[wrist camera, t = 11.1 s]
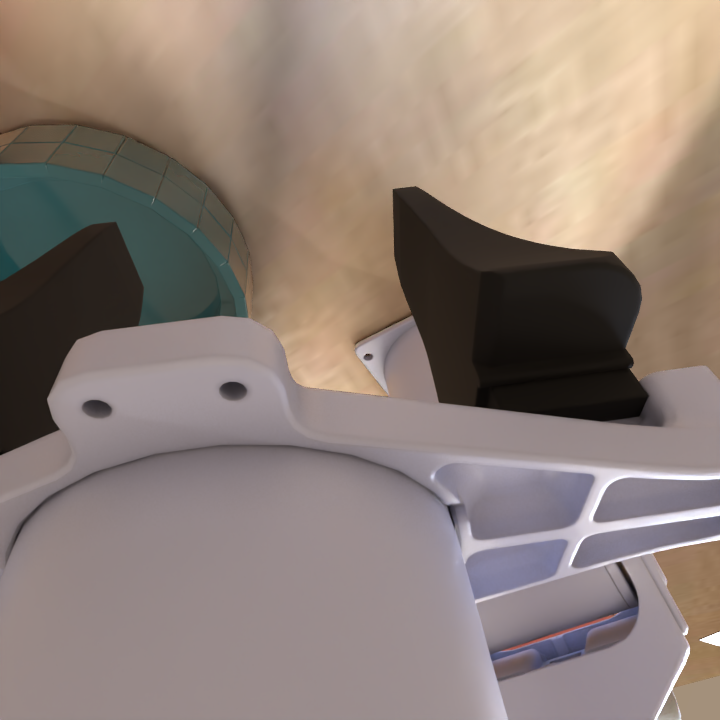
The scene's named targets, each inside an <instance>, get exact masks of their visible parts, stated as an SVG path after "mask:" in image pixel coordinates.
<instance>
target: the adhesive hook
mask: <svg viewBox="0 0 720 720" xmlns="http://www.w3.org/2000/svg"><path fill="white" fill-rule="evenodd" d="M701 641H704V642H708V643H711V644H715V645H718V646H720V632H718V633H716V634H713V635H711V636H708V637H706V638H703V639H701Z"/></svg>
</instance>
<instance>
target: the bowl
mask: <svg viewBox="0 0 720 720" xmlns="http://www.w3.org/2000/svg"><path fill="white" fill-rule="evenodd" d="M108 222H116V223H117V225H118V228H119V230H120V232H121V235H122V237H123V239H124V242H125V244H126V246H127V249H128V251H129V253H130V256H131V258H132V260H133V263H134V265H135V267H136V270H137V272H138V274H139V277H140V279H141V282H142V284H143V286H144V293H143V304H142V311H141V318H140V321H139V325H138V326H144V325H152V324H160V323H168V322H176V321H184V320H192V319H200V318H208V317H216V316H229V317H242V318H250V319H251V310H252V292H253V277H252V270H251V263H250V256H249V252H248V248H247V246H246V244H245V242H244V239H243V237H242V235H241V233H240V231H239V228H238V226H237V224H236V222H235V220H234V219H233V216H232V215H231V214H230V213H229V212H228V210H227V209H226V208H225V207H224V205H223V204H222V203H221V202H220V200H219V199H218V198H217V197H216V196H215V194H214V193H213V192H212V191H211V189H210V188H209V187H207V185H206V184H205V183H204V182H202V181H201V180H200V179H198V178H197V177H196V176H195V175H193V174H192V173H191V172H189V171H188V170H187V169H186V168H184V167H183V166H182V165H180V164H179V163H178V162H177V161H175V160H174V159H173V158H170V157H169V156H167V155H165V154H163V153H161V152H158V151H156V150H154V149H152V148H150V147H148V146H146V145H144V144H142V143H140V142H137V141H135V140H133V139H131V138H129V137H126V136H124V135H119V134H115V133H111V132H106V131H102V130H97V129H93V128H89V127H84V126H80V125H79V126H77V125H33V126H26V127H23V128H20V129H17V130H14V131H10V132H7V133H4V134H1V135H0V282H1V281H2V280H4V279H6V278H8V277H9V276H11V275H12V274H14V273H15V272H17V271H19V270H20V269H22V268H23V267H25V266H27V265H28V264H30V263H31V262H33V261H35V260H36V259H38V258H39V257H41V256H42V255H44V254H45V253H46V252H48V251H49V250H51V249H52V248H54V247H55V246H57V245H58V244H60V243H61V242H63V241H64V240H66V239H67V238H69V237H70V236H72V235H73V234H75V233H76V232H78V231H80V230H81V229H83V228H85V227H87V226H89V225H92V224H99V223H108Z"/></svg>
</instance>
